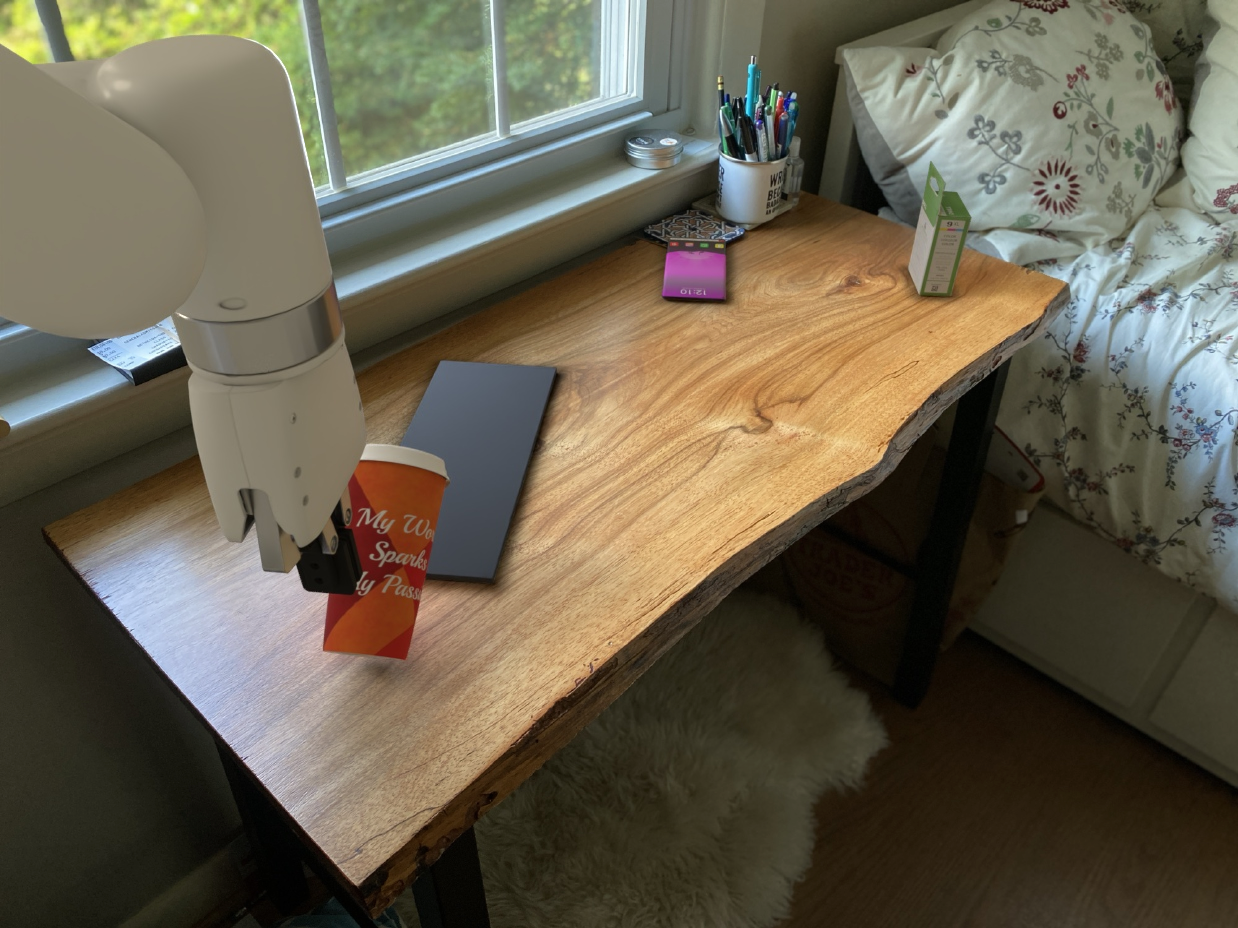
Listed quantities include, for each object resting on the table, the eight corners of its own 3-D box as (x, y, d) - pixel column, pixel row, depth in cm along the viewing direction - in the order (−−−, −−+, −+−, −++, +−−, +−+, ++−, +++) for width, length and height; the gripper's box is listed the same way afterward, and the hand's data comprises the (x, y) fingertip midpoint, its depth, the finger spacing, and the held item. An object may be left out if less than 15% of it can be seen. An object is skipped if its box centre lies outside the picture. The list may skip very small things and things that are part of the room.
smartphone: (725, 245, 117) (726, 238, 116) (725, 303, 105) (726, 296, 105) (668, 243, 118) (668, 236, 117) (661, 300, 106) (661, 293, 105)
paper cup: (340, 650, 58) (378, 434, 61) (285, 647, 63) (324, 449, 67) (445, 664, 63) (475, 464, 66) (387, 660, 68) (417, 476, 72)
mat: (493, 584, 71) (492, 578, 71) (341, 572, 72) (340, 566, 72) (556, 371, 95) (556, 366, 94) (441, 365, 96) (440, 360, 95)
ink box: (953, 298, 106) (981, 184, 98) (917, 297, 107) (942, 183, 98) (940, 270, 112) (965, 160, 104) (906, 269, 112) (929, 159, 104)
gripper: (251, 246, 51) (319, 499, 63) (103, 401, 40) (220, 676, 51) (383, 253, 51) (428, 507, 62) (272, 412, 39) (352, 689, 50)
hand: (334, 583), depth 56 cm, fingers closed
